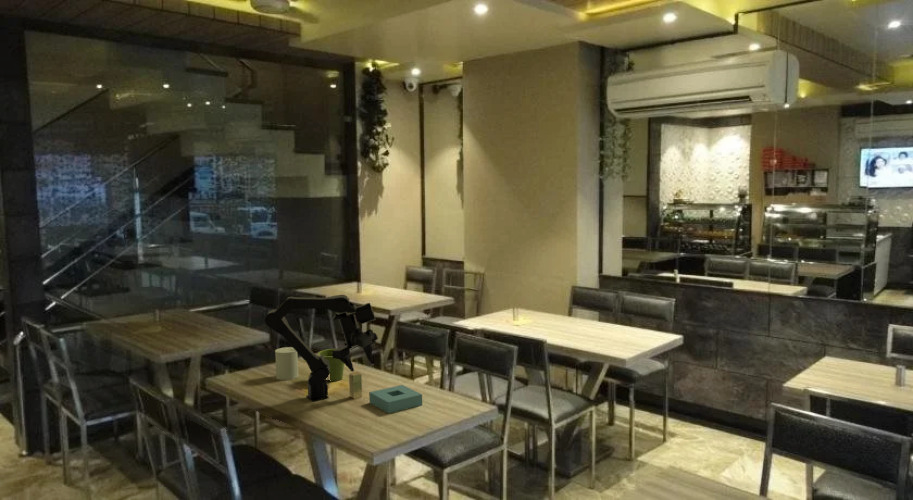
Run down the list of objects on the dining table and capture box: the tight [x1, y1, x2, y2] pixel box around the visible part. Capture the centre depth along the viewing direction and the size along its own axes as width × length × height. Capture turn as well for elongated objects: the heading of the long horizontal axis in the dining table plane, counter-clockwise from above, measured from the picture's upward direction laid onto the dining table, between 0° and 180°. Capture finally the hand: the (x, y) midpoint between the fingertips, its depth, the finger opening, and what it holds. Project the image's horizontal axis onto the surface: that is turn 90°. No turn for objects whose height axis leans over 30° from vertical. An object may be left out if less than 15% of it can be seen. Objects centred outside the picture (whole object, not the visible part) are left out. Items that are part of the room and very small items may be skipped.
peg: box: [348, 371, 363, 400], centre depth 245 cm, size 3×3×9 cm
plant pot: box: [317, 348, 345, 382], centre depth 267 cm, size 12×12×11 cm
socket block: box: [368, 384, 423, 414], centre depth 237 cm, size 14×14×4 cm
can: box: [274, 346, 300, 381], centre depth 271 cm, size 9×9×12 cm
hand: (361, 366), depth 246 cm, fingers open, 9 cm apart
